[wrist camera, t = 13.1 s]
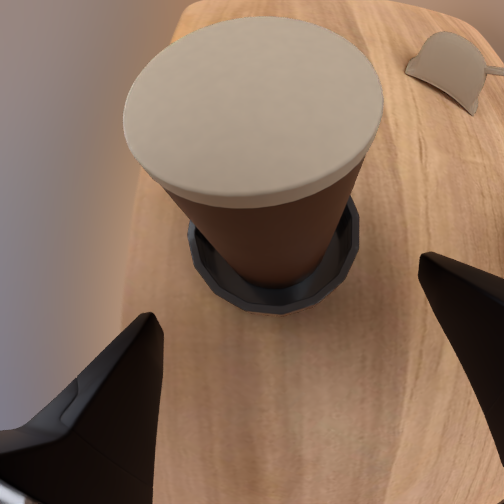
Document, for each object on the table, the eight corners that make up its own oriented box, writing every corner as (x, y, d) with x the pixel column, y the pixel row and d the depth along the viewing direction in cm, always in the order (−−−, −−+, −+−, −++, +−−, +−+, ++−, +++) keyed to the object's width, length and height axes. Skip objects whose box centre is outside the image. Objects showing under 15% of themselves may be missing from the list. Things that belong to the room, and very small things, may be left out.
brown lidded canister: (348, 234, 16) (425, 81, 5) (277, 313, 15) (251, 268, 4) (271, 172, 17) (246, 0, 6) (202, 241, 16) (85, 111, 6)
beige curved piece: (415, 54, 19) (429, 11, 14) (492, 104, 17) (516, 66, 12) (402, 72, 19) (417, 24, 14) (486, 128, 17) (515, 88, 12)
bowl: (370, 288, 15) (384, 280, 13) (222, 334, 15) (210, 334, 13) (319, 159, 17) (322, 135, 15) (189, 198, 18) (175, 179, 15)
